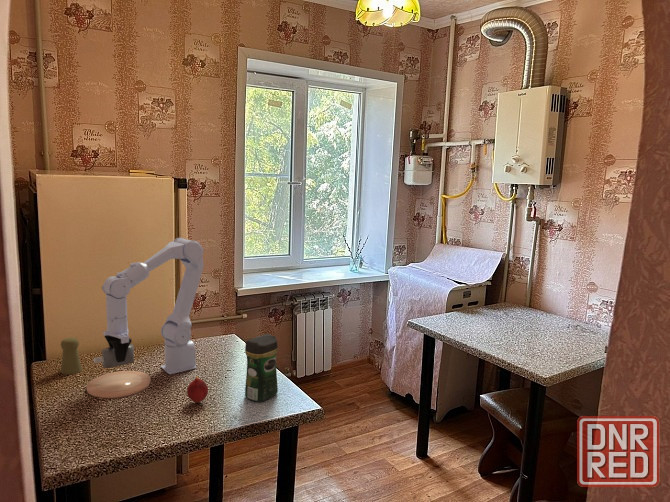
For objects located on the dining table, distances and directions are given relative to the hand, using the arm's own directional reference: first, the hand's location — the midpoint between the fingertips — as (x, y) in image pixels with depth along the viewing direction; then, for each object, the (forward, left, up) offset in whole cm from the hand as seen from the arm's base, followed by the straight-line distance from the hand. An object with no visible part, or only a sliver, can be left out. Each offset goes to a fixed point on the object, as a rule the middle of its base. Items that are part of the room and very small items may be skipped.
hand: (118, 359), depth 147 cm
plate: (0, 0, -8) cm, 8 cm away
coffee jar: (-31, +32, -9) cm, 45 cm away
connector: (+1, 0, -1) cm, 2 cm away
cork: (+9, -20, -9) cm, 24 cm away
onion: (-14, +25, -9) cm, 30 cm away
